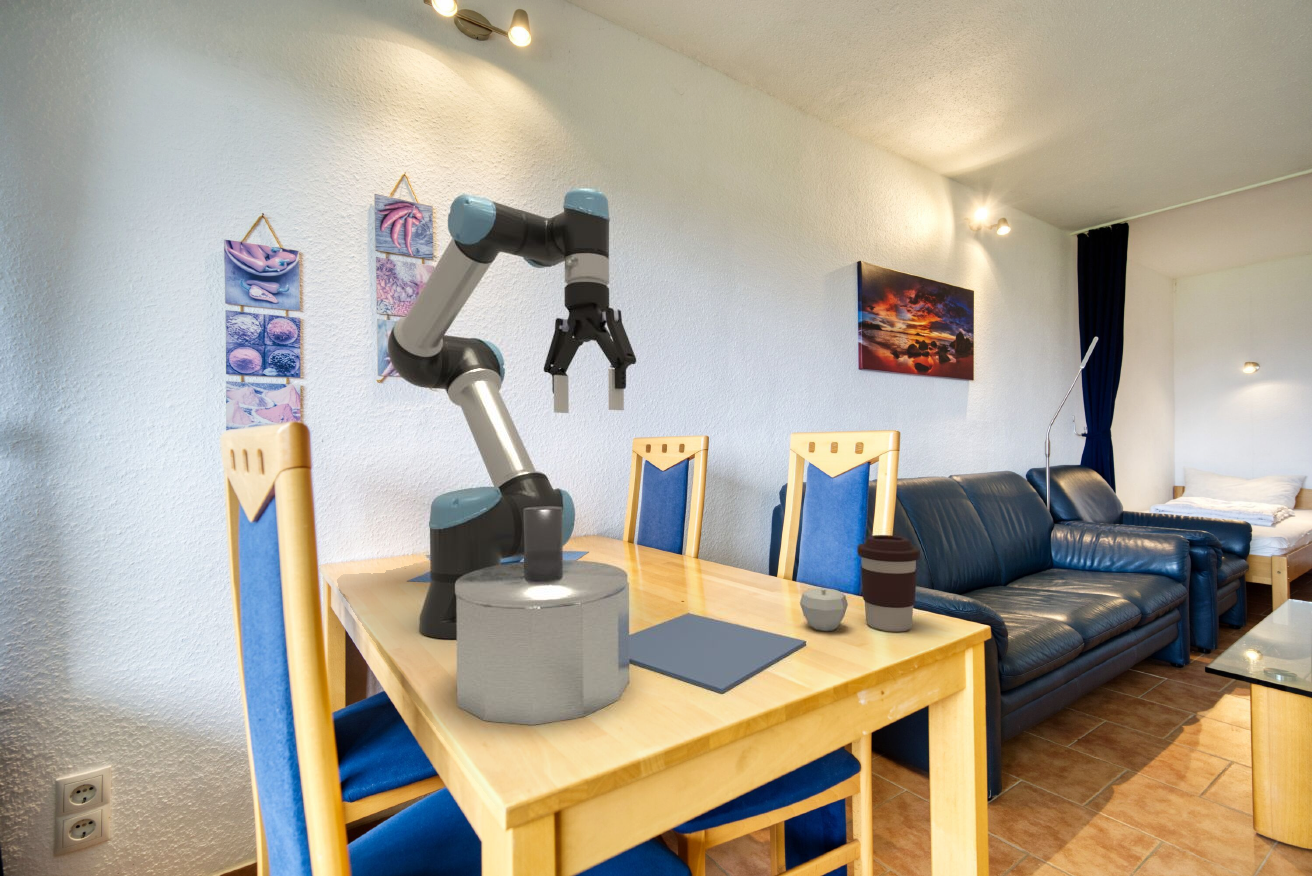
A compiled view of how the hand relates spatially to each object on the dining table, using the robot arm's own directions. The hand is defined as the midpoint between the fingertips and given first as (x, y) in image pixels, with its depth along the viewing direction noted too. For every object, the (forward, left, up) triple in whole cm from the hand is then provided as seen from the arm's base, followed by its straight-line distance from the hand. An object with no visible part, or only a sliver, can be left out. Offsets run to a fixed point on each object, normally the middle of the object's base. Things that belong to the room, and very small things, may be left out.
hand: (587, 411), depth 100 cm
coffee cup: (+38, +34, -37) cm, 63 cm away
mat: (+20, +5, -37) cm, 42 cm away
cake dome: (+12, -19, -37) cm, 43 cm away
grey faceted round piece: (+30, +26, -37) cm, 54 cm away
